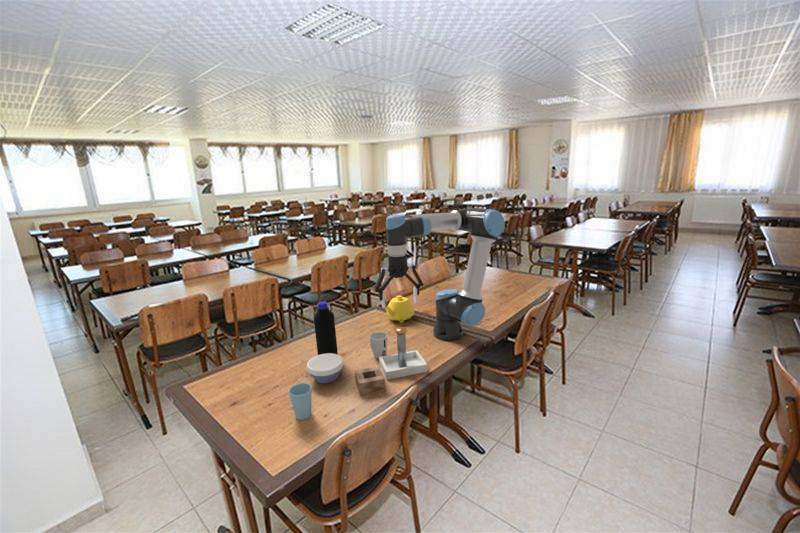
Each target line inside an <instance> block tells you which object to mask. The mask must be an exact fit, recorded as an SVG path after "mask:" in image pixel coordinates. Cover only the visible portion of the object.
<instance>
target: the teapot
mask: <svg viewBox="0 0 800 533" xmlns="http://www.w3.org/2000/svg"><path fill="white" fill-rule="evenodd" d="M384 310H385V311H386V316H387V317H388V318H389V321H392V322H393V321H399V322H398V323H399V324H404V323H405V321H407V320H411V319H412V317H413V315H414V314H415V309H414V306H413V304H412V303H411V301H410V300H409V298H408V297H406V296H405V297H404V296H403V295H396V297H393V298H391V299H390V301H389V303H388V305H387V306H385V309H384Z"/></svg>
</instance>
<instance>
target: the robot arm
mask: <svg viewBox="0 0 800 533" xmlns="http://www.w3.org/2000/svg"><path fill="white" fill-rule="evenodd" d="M385 220H386V221H385V229H386V230H385V231H386V232H385V233H386V242H387V243H386V246H387V255H388V256H387V264H388V266H387V267H381V268H380V274H379V275H378V278H377V281H376V283H375V285H374V288H373V290H374V292H375V293H378V299H379V301H381V307H382V309H384V310H385V308H386V298H385V297H386V296H385V292H384V291H385V290H386V288H388V285H389V284H390V282H391V281H393V279H398V278H403V277H404V276H405V278H406V279H408V280H409V282H411V283H412V285H413V287H412V288H413V289H412V290H413V302H414V304H415V305H417V304H418V303H419V302H418V296H419V295H420V288H421V287H423V286H424V282H423V281H422V279H421V277H420V275H419V274H418V272H417V269H416V265H414V264H413V263H411V264H410V265H408V255H407V252H408V250H407V249H408V248H407V239H409V238H416V237H424V236H427V235H430V233H431V232H432V231H438V230H439V231H440V230H452V231H462V232H466V233H470V237H471V239H472V242H471V243H472V244H471V246H470V251H469V256H468V260H467V261H468V262H467V265H466V270H465V274H464V275H465V276H464V279H463V283H462V284H463V285H462V290H461V291H459V290H458V289H453V288H452V289H451V288H448V289H442V290H439V291H437V292H436V294H435V315H436V316H435V317H436V318H435V319H436V320H435V323H434V326H433V329H432V332H433V334H432V335H433V336H434V337H435V338H436V339H439V340H442V341H454V340H458V339H461V338H462V337H463V336H464V329H463V325H465V326H470V327H474V326H477V325H479V323H481V322H482V321H483V319H484V318H485V315H486V308H485V305H484V304H483V299H484V298H483V296H482V294H481V292H482V289H483V284H484V279H485V275H486V270H487V266H488V261H489V256H490V252H491V248H492V244H493V243H495V242H496V241H497V237H499V236H501V235H502V233H503V232H504V230H505V226H506V224H505V217H504V216H503V214H502V213H501V212H500V211H498V210H496V209H491V208H478V207H477V208H475V207H471V208H469V207H468V208H463V209H456V210H455V209H453V210H451V211H450V212H440V213H438V212H437V213H435V212H434V213H420V214H391V215H388V216H387V217H386V219H385ZM409 270H410V271H411V272H412V273H413V276H414V277H415V279H416V281H417V282H416V281H415V280H414V279H413V278H412V276H410V275H409V274H408V271H409ZM387 273H388V275H387V277H386V279H385V280H384V278H385V275H386V274H387ZM383 280H384V282H383ZM382 282H383V283H382ZM462 324H463V325H462Z"/></svg>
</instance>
